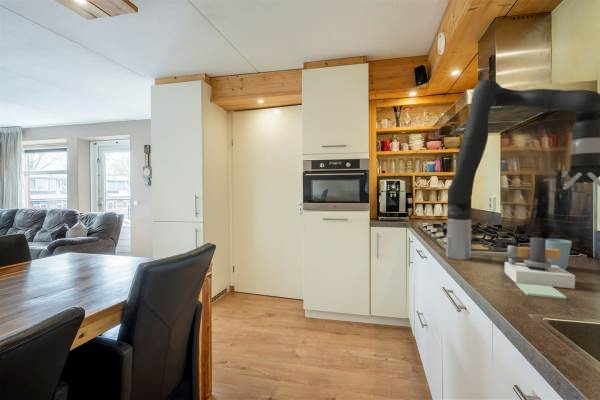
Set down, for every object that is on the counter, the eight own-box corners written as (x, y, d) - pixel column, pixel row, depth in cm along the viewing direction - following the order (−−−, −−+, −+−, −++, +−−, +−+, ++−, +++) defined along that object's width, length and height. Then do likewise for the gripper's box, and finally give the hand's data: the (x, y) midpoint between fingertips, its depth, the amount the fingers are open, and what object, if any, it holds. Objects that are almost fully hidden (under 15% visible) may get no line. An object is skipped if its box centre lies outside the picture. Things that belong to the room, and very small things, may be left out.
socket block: (516, 283, 93) (516, 263, 93) (504, 272, 104) (504, 255, 104) (574, 288, 88) (575, 268, 88) (555, 276, 99) (556, 258, 99)
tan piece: (508, 257, 100) (509, 246, 100) (506, 255, 103) (506, 245, 103) (560, 260, 95) (560, 249, 95) (556, 258, 98) (556, 247, 98)
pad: (527, 295, 83) (527, 293, 83) (516, 285, 92) (516, 283, 92) (566, 299, 80) (566, 297, 80) (551, 288, 88) (551, 286, 88)
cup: (574, 271, 105) (575, 243, 105) (547, 268, 109) (548, 241, 108) (566, 266, 112) (567, 239, 112) (541, 263, 116) (542, 238, 115)
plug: (528, 282, 94) (529, 239, 94) (520, 275, 101) (521, 236, 100) (554, 284, 92) (556, 241, 91) (544, 277, 98) (546, 237, 98)
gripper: (616, 151, 94) (614, 201, 95) (558, 155, 104) (556, 199, 105) (617, 149, 89) (615, 202, 90) (556, 153, 99) (554, 200, 100)
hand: (583, 200), depth 97 cm, fingers open, 8 cm apart
